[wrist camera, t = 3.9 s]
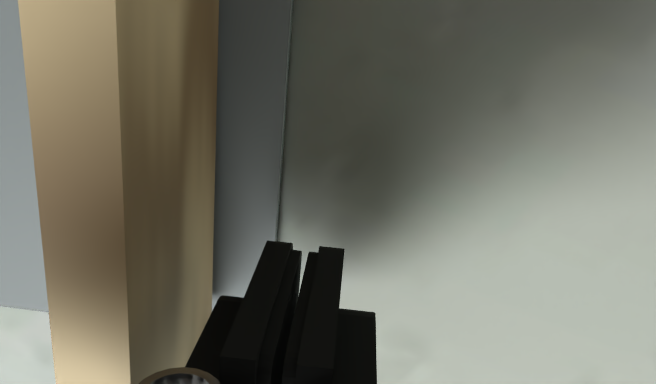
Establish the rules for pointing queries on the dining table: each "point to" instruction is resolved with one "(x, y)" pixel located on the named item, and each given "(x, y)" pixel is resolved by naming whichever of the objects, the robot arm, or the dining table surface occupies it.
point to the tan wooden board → (123, 178)
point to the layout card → (230, 157)
